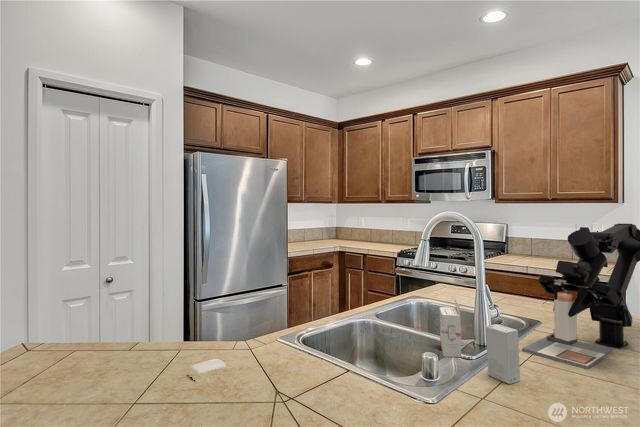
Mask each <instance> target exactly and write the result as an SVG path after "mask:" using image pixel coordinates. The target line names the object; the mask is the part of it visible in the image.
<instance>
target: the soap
mask: <svg viewBox="0 0 640 427" xmlns="http://www.w3.org/2000/svg"><path fill="white" fill-rule="evenodd" d="M226 366H227V367H228V365H227V364H226V362H224V361H223V360H221V359H218V358H211V359H209V360H204V361H202V362H198V363H196V364H195V363H194V364H192V365H191V366H189V368H191V369H192V370H193V371H194V372H196V373H198V374H200V373H204V372H207V371H211V370H215V369H219V368H223V367H226Z"/></svg>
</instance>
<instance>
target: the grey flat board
mask: <svg viewBox="0 0 640 427" xmlns="http://www.w3.org/2000/svg"><path fill="white" fill-rule="evenodd" d="M578 339H579V338H578V336H577V339H575V340H571V341H565V340H562V339H559V338H556V337H555V336H554V335H553V333H551V334H549V335H546V336H545V337H543V338H541V339H538V340H536V341H534V342H532V343H530V344H528V345H526V346H523V347H522V348H521V351H522V352H524V353H529V354H532V355H534V356H535V355H536V356H539V357H543V358H546V359H549V360H553V361H557V362H560V363H562V364H563V363H564V364H568V365H571V366H575V367H579V368H582V369H585V370H588V369H590V368H592V367H593V366H595V365H596V364H597V363H599V362H601V361H602V360H603V359H605V358H607V357H608V356H609V355H610V354H611V355H612V354H613V349H612V348H607V347H603V346H600V345H596V344H591V343H587V342H582V341H578Z"/></svg>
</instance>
